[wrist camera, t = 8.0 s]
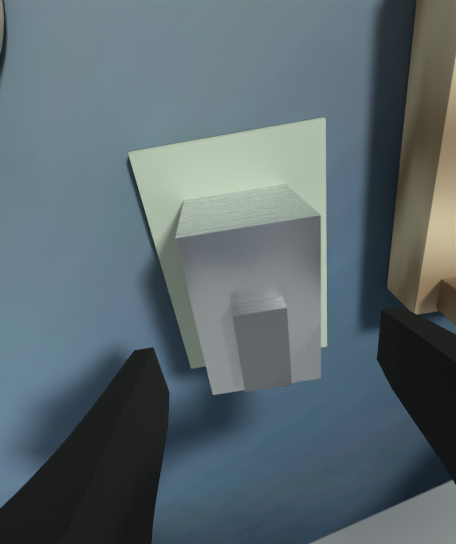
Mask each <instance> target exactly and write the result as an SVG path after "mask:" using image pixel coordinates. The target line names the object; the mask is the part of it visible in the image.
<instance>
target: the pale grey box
mask: <svg viewBox="0 0 456 544" xmlns="http://www.w3.org/2000/svg"><path fill="white" fill-rule="evenodd" d="M175 240H176V244H177V248H178V253H179V257H180V261H181V265H182V269H183V273H184V277H185V282H186V286H187V290H188V294H189V298H190V302H191V307H192V311H193V315H194V319H195V323H196V327H197V331H198V336H199V340H200V344H201V348H202V352H203V356H204V360H205V365H206V369H207V373H208V377H209V381H210V385H211V390H212V394H213V395H216V394H223V393H229V392H236V391H242V390H245V392H249V391H255V390H262V389H268V388H275V387H281V386H288V385H292V383H294V382H300V381H307V380H313V379H320V378H321V215H320V214H319V213H318V212H317V211H316V210H315V209H314V208H312V207H311V206H310V205H309V204H308V203H307V202H306V201H305V200H304V199H303V198H302V197H300V196H299V195H298V194H297V193H296V192H295V191H294V190H293V189H292V188H291V187H289V186H288V185H287V184H282V185H275V186H269V187H263V188H257V189H250V190H244V191H238V192H232V193H226V194H219V195H213V196H207V197H201V198H194V199H188V200H184V202H183V206H182V211H181V215H180V219H179V224H178V228H177V232H176V237H175Z"/></svg>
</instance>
